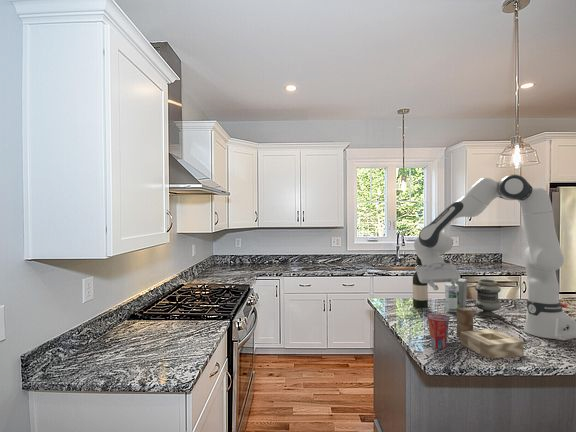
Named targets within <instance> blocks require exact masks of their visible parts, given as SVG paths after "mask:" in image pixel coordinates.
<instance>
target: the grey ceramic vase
mask: <svg viewBox="0 0 576 432" xmlns="http://www.w3.org/2000/svg"><path fill="white" fill-rule="evenodd" d="M474 289H475V291H477V292H476V293H477V294H476V295H477V296H476V299H475V300H474V305H475V307H476V308H477V309H479V310H481V311H478V312H476V315H478V316H479V317H483V318H491V319H495V318H499V315H498V314H497V313H495V311H499V310H500V309H502V304H501V302H500V301H499V293H500V292H501V291H502V290H501V286H499V284H498V282H497V280H495V279H487V278H485V279H484V278H483V279H479V280H478V281H477V283H476V284H475V285H474Z"/></svg>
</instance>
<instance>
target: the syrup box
mask: <svg viewBox="0 0 576 432" xmlns="http://www.w3.org/2000/svg"><path fill="white" fill-rule="evenodd" d="M455 285H456V287H457V288H456V289H452V288H451V286H452V284H451V283H445V284H444V290H445V292H444V295H445V297H444V299H445V300H444V301H445V302H444V303H445V310H446V311H447V312H448V313H457V308H459V285H457V284H455Z"/></svg>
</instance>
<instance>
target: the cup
mask: <svg viewBox="0 0 576 432" xmlns="http://www.w3.org/2000/svg"><path fill="white" fill-rule="evenodd" d="M426 317H427V321H428V323H427V324H428V329H429V330H428V331H429V337H430V342H431V343H430V344H431V348H433V349H437V350H444V349H445V350H446V348H447V347H446V346H447V341H448V335H449V334H448V332H449V322H450V319H451V317H450V316H449V315H446V314H440V313H427V314H426Z"/></svg>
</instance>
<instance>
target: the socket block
mask: <svg viewBox="0 0 576 432" xmlns="http://www.w3.org/2000/svg"><path fill="white" fill-rule="evenodd" d="M460 345H461V346H464V347H465V348H467V349H469V350H471V351H473V352H475V353H477V354H478V355H480V356H482V357H485V359H488V360H490V359H499V358H509V357H517V356H519V357H520V356H524V355H525V354H524V353H525V351H524V348H525V346H524V341H523V340H520V339H518V338H515V337H513V336H511V335H508V334H505V333H503V332H502V331H501V332H500V331H499V330H496V329H493V328H491V329H489V328H488V329H475V330H473V331H464V332H461V338H460Z"/></svg>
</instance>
